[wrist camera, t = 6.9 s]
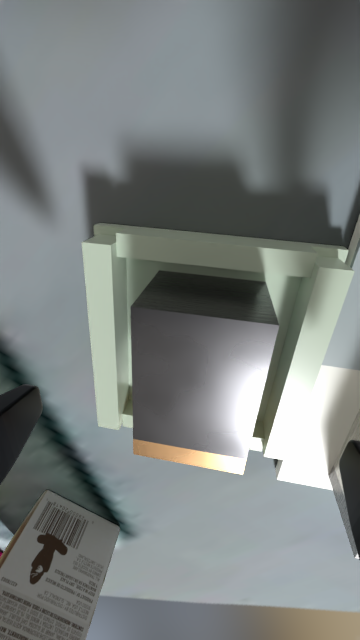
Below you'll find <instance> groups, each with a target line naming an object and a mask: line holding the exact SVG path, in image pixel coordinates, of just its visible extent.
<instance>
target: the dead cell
mask: <svg viewBox="0 0 360 640" xmlns="http://www.w3.org/2000/svg"><path fill="white" fill-rule="evenodd" d="M350 440H358V441H360V409H359V411H358V414H357V416H356V418H355V420H354V422H353V424H352V426H351V429H350V431H349V433H348V435H347V437H346V439H345V441H344V444H343V446H342V448H341V450H340V452H339V454H338V456H337V459H336V461H335V463H334V465H333V467H332V469H331V471H330V474H329V479H330V482H331V485H332V488H333V491H334V495H335V498H336V501H337V504H338V507H339V510H340V513H341V517H342V520H343V523H344V526H345V529H346V532H347V535H348V538H349V542H350V545H351V548H352V551H353V554H354V557H355V558H357V559H359V556H358V552H357V549H356V545H355V542H354V538H353V535H352V531H351V527H350V522H349V517H348V512H347V506H346V501H345V496H344V490H343V485H342V480H341V474H340V469H339V461H340V458H341V456H342V454H343V452H344V450H345V447H346V445H347V443H348V442H349V441H350Z"/></svg>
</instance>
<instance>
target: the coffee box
mask: <svg viewBox="0 0 360 640" xmlns="http://www.w3.org/2000/svg"><path fill="white" fill-rule="evenodd" d="M119 531H120V527H119V526H117V525H115V524H114V523H112V522H110V521H108V520H106V519H104V518H102V517H100V516H98V515H96V514H94V513H92V512H90V511H88V510H86V509H84V508H82V507H80V506H78V505H76V504H74V503H72V502H70V501H69V500H67V499H65V498H63V497H61V496H59V495H57V494H55V493H53V492H51V491H49V490H45V491H44V492H43V494H42V495H41V496H40V498H39V499H38V501H37V502H36V504H35V505H34V506H33V508H32V509H31V511H30V512H29V514H28V515H27V517H26V518H25V520H24V521H23V523H22V524H21V526H20V527H19V529H18V530H17V532H16V533H15V535H14V536H13V538H12V539H11V541H10V543H9V544H8V546H7V548H6V549H5V551H4V552H3V554H2V556H1V557H0V640H85V639H86V636H87V633H88V629H89V626H90V623H91V620H92V617H93V614H94V611H95V608H96V604H97V601H98V598H99V594H100V592H101V589H102V586H103V583H104V580H105V576H106V573H107V570H108V567H109V564H110V561H111V557H112V554H113V551H114V548H115V544H116V541H117V538H118V535H119Z"/></svg>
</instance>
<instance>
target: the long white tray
mask: <svg viewBox="0 0 360 640" xmlns="http://www.w3.org/2000/svg"><path fill="white" fill-rule="evenodd" d="M348 250H349V252H348V255H347V258H346V261H345V264H346V265H348V266H349V267H350V268H352V269H353V270H354V271H355V272H354V275H353V278H352V280H351V283H350V286H349V289H348V292H347V294H346V297H345V300H344V303H343V306H342V309H341V311H340V314H339V317H338V320H337V323H336V326H335V328H334V331H333V334H332V337H331V340H330V343H329V345H328V348H327V351H326V354H325V357H324V360H323V362H322V365H321V368H320V371H319V374H318V377H317V379H316V382H315V385H314V388H313V391H312V394H311V396H310V399H309V402H308V405H307V408H306V410H305V413H304V416H303V419H302V422H301V425H300V427H299V430H298V433H297V436H296V439H295V442H294V444H293V447H292V450H291V453H290V456H289V459H288V461H285V460H280V459H279V460H278V463H277V466H276V469H275V470H276V477H277V480H282V481H288V482H293V483H298V484H303V485H308V486H314V487H319V488H324V489H329V490H333V488H332V485H331V482H330V479H329V474H330V471H331V469H332V467H333V465H334V463H335V461H336V459H337V456H338V454H339V452H340V450H341V448H342V446H343V444H344V441H345V439H346V437H347V435H348V433H349V431H350V429H351V426H352V424H353V422H354V420H355V418H356V416H357V414H358V411H359V409H360V215H359V218H358V221H357V224H356V227H355V230H354V233H353V236H352V239H351V242H350V245H349V248H348Z"/></svg>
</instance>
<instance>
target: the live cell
mask: <svg viewBox="0 0 360 640" xmlns="http://www.w3.org/2000/svg"><path fill="white" fill-rule="evenodd" d="M130 309H131V356H132V404H133V452H134V454H136V455H141V456H146V457H152V458H157V459H162V460H168V461H173V462H178V463H183V464H189V465H194V466H199V467H205V468H210V469H215V470H221V471H226V472H231V473H237V474H242V475H243V471H244V467H245V463H246V459H247V455H248V451H249V447H250V443H251V439H252V435H253V431H254V427H255V422H256V418H257V414H258V410H259V406H260V402H261V398H262V394H263V390H264V386H265V382H266V378H267V374H268V370H269V366H270V361H271V357H272V353H273V349H274V345H275V341H276V337H277V333H278V329H279V323H278V319H277V316H276V313H275V310H274V307H273V303H272V300H271V297H270V294H269V291H268V287H267V284H266V282H263V281H254V280H244V279H235V278H226V277H217V276H208V275H198V274H189V273H180V272H171V271H161V270H159V271H158V272H157V274H156V275H155V276H154V278H153V279H152V280H151V281H150V283H149V284H148V285H147V286H146V288H145V289H144V290H143V291H142V293H141V294H140V295H139V297H138V298H137V299H136V300H135V302H134V303H133V304H132V305H131V307H130Z"/></svg>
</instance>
